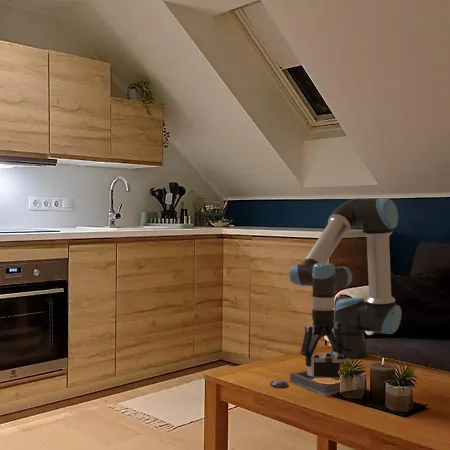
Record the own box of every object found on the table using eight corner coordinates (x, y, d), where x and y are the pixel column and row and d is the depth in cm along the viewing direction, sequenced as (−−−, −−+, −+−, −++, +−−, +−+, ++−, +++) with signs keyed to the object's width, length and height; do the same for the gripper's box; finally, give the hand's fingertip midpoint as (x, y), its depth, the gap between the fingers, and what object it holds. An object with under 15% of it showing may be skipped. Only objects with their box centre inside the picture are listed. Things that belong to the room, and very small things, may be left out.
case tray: (321, 376, 221) (321, 367, 220) (357, 389, 204) (357, 380, 204) (290, 381, 214) (290, 373, 214) (324, 396, 197) (324, 387, 197)
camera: (349, 373, 211) (347, 347, 211) (351, 379, 203) (349, 352, 203) (311, 375, 212) (309, 349, 212) (312, 381, 204) (310, 354, 204)
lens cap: (280, 382, 213) (280, 378, 213) (290, 387, 208) (290, 382, 208) (266, 385, 210) (266, 381, 210) (276, 389, 205) (276, 385, 205)
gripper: (341, 304, 217) (341, 366, 218) (289, 309, 206) (289, 375, 206) (356, 307, 210) (355, 371, 211) (303, 313, 199) (303, 380, 200)
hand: (323, 373), depth 209 cm, fingers closed on camera, 10 cm apart
